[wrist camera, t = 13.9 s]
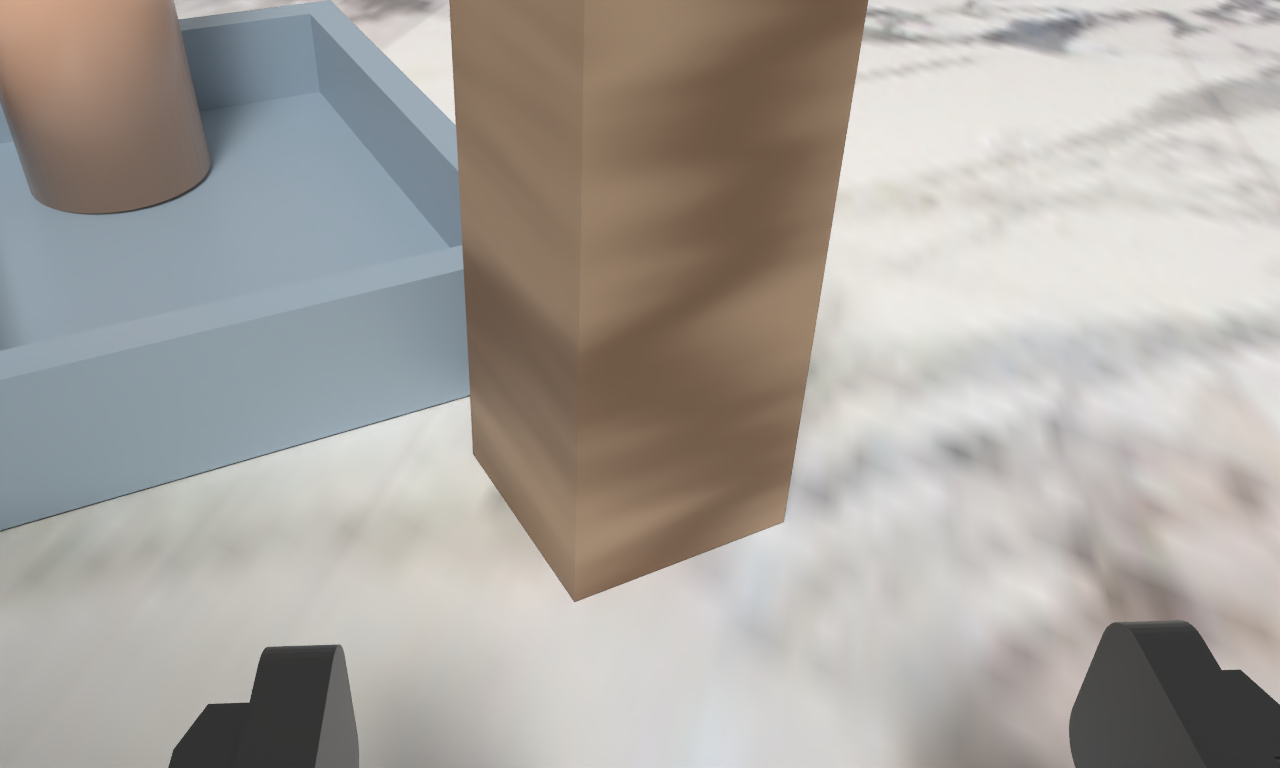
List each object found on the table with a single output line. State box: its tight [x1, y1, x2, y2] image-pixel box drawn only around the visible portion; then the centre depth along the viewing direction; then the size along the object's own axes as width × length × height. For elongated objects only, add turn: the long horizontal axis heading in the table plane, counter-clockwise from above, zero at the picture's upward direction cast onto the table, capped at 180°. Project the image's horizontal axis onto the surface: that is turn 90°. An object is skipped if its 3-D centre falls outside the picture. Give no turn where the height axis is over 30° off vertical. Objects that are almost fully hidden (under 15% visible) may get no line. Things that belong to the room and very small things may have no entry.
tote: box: [0, 0, 470, 530], centre depth 31 cm, size 14×18×4 cm
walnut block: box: [449, 0, 868, 602], centre depth 22 cm, size 5×5×12 cm
